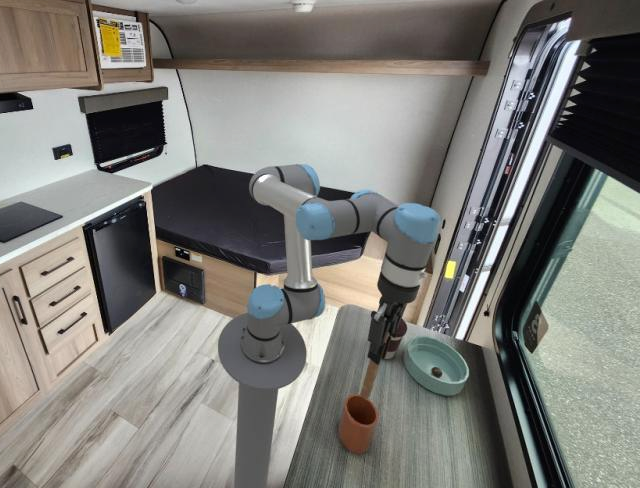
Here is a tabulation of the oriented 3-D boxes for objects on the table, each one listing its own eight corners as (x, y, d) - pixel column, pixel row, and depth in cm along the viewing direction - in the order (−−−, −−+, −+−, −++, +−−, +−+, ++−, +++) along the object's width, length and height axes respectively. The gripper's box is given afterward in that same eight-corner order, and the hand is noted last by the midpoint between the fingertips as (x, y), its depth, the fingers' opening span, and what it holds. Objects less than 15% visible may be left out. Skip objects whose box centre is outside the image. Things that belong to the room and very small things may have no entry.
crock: (331, 432, 85) (338, 406, 80) (349, 413, 89) (356, 387, 85) (358, 461, 79) (367, 434, 74) (375, 438, 84) (384, 412, 79)
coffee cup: (399, 367, 103) (410, 334, 98) (368, 358, 106) (377, 325, 100) (396, 343, 112) (406, 311, 106) (367, 335, 115) (375, 304, 109)
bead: (428, 374, 101) (431, 368, 99) (432, 369, 102) (434, 363, 101) (438, 381, 98) (441, 375, 97) (442, 376, 100) (444, 369, 99)
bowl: (393, 365, 104) (398, 353, 101) (416, 340, 114) (421, 327, 111) (450, 408, 91) (456, 395, 89) (470, 375, 101) (476, 362, 99)
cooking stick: (359, 395, 78) (378, 331, 70) (363, 390, 79) (382, 327, 71) (366, 400, 77) (385, 336, 68) (370, 396, 78) (389, 332, 69)
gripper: (400, 303, 56) (374, 388, 66) (434, 272, 65) (407, 352, 74) (363, 281, 62) (343, 362, 71) (399, 255, 70) (377, 331, 80)
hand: (376, 357), depth 73 cm, fingers closed on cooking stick, 2 cm apart
